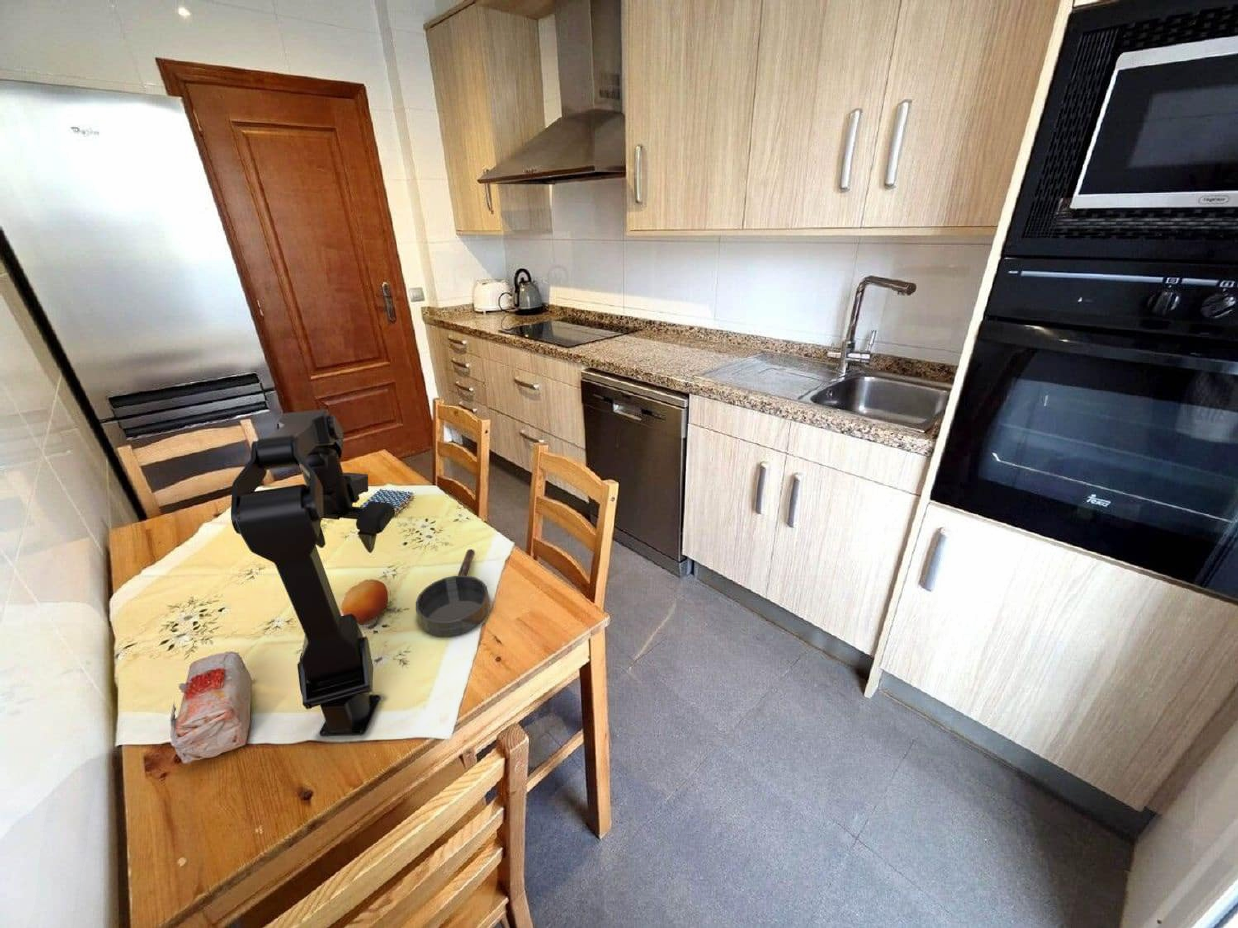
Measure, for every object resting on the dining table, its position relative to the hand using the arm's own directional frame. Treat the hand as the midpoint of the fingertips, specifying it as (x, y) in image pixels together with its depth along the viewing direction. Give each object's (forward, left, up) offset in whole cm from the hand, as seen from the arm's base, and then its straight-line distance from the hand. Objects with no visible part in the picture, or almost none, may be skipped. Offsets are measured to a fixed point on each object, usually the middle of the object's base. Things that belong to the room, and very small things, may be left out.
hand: (347, 548), depth 93 cm
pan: (-4, -19, -12) cm, 23 cm away
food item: (-26, +9, -13) cm, 31 cm away
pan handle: (+7, -19, -11) cm, 23 cm away
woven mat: (+36, +8, -13) cm, 39 cm away
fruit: (-4, -3, -13) cm, 13 cm away
